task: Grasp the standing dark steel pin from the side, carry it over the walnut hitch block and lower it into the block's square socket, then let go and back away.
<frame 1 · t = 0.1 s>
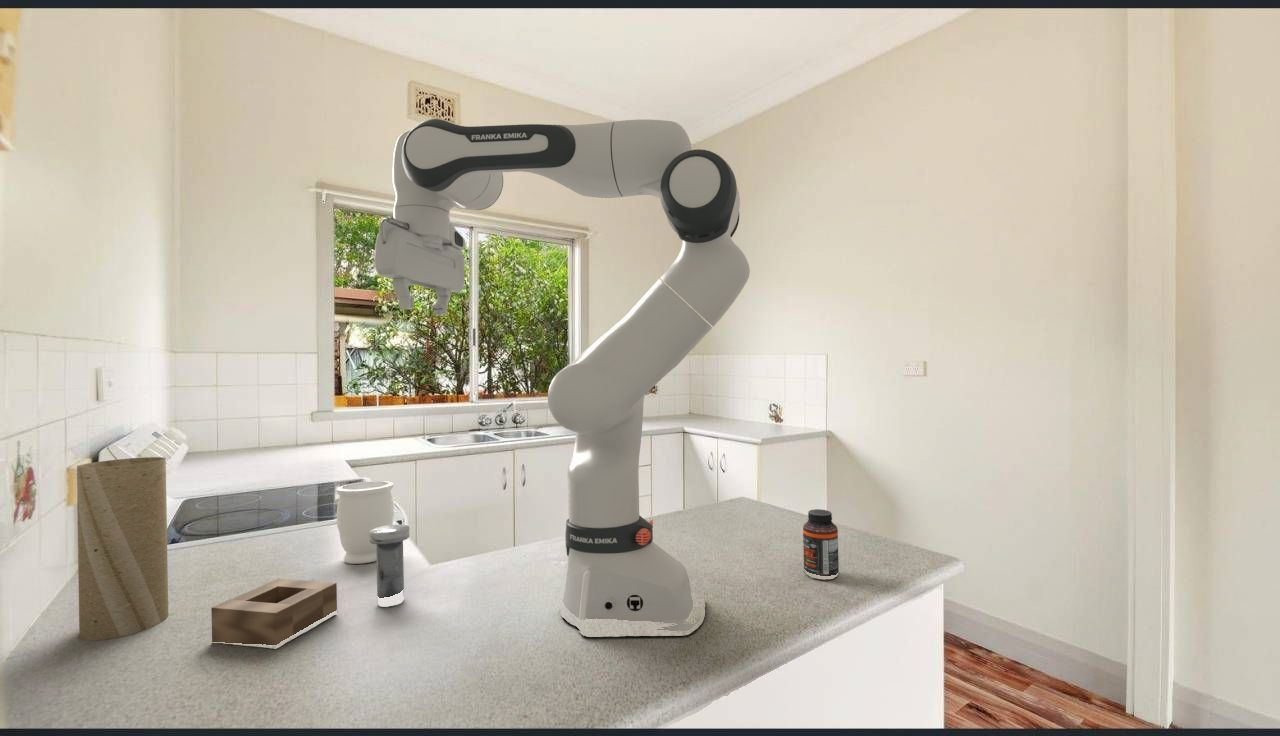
hand: (424, 312, 92), 48 cm above the worktop, tool pointing down, fingers open, 8 cm apart
supplement bottle: (821, 576, 97), on the worktop
jar: (366, 558, 113), on the worktop
tube: (125, 626, 84), on the worktop
pin: (391, 602, 90), on the worktop
hitch block: (277, 628, 82), on the worktop
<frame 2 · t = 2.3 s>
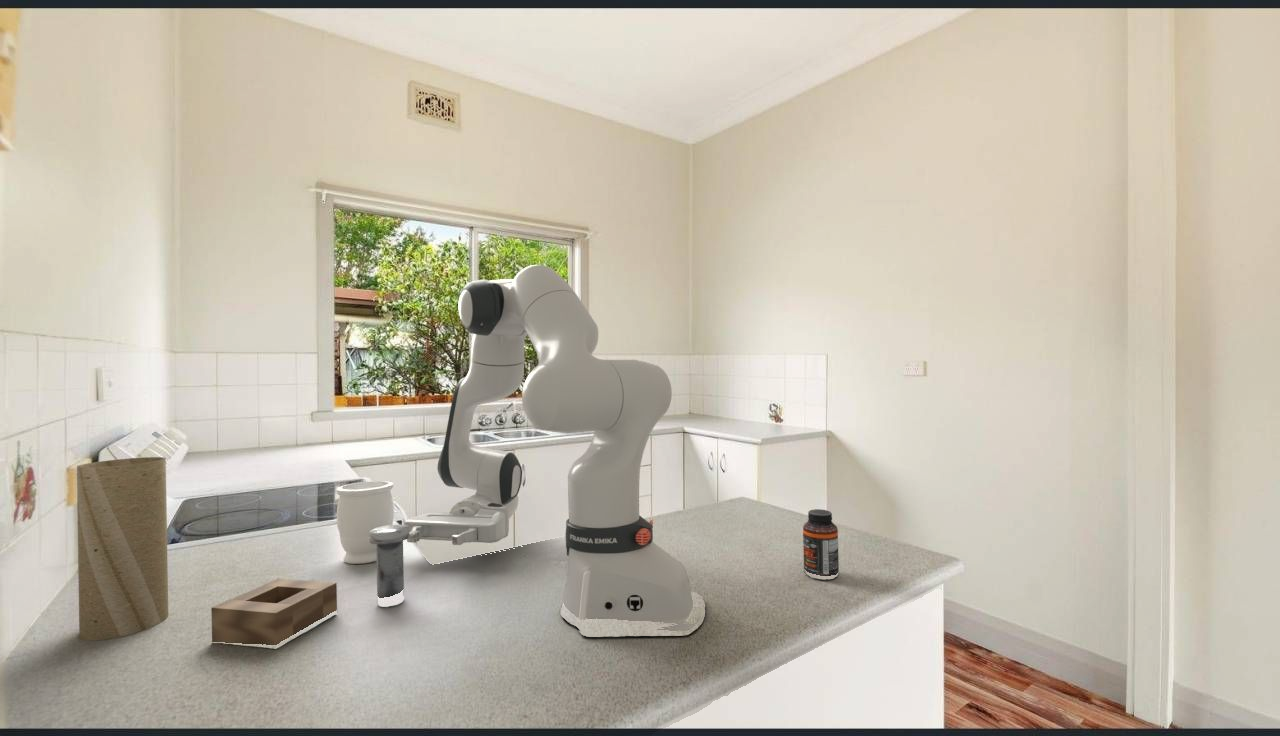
hand: (432, 539, 102), 7 cm above the worktop, tool horizontal, fingers open, 8 cm apart
nothing on the worktop moved.
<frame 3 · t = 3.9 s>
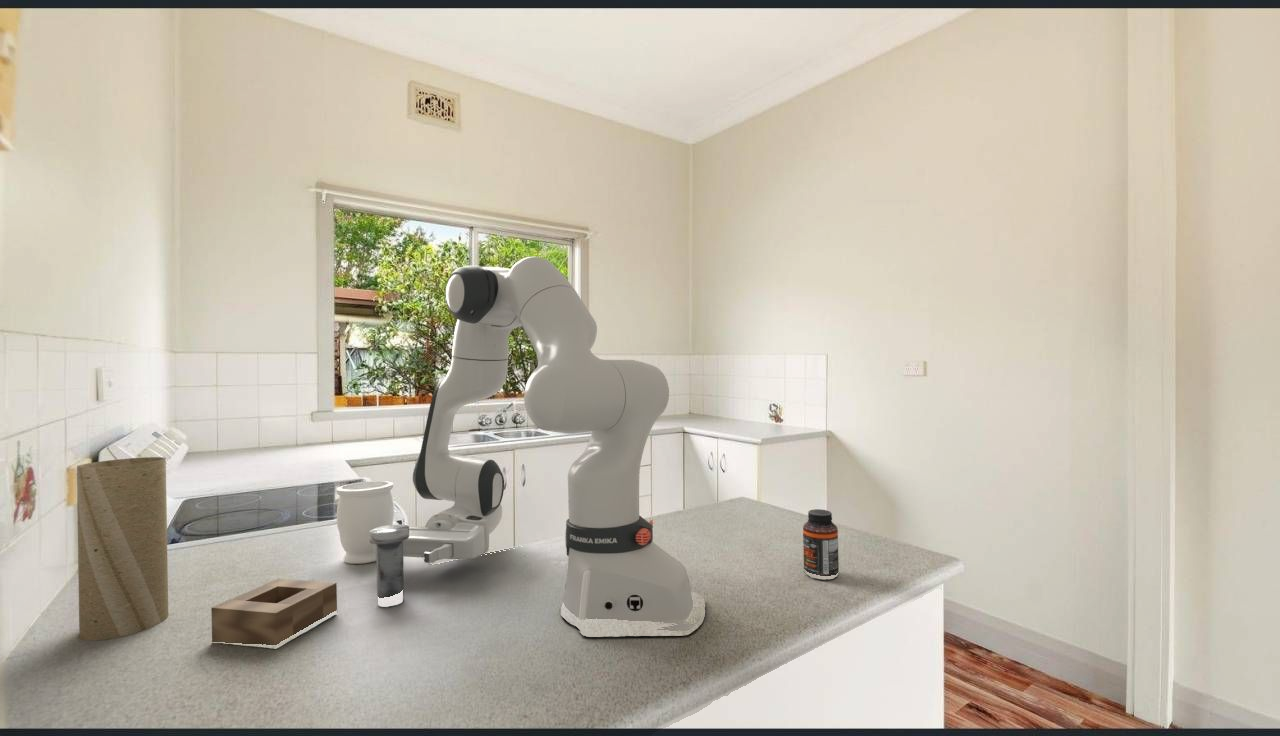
hand: (403, 556, 93), 6 cm above the worktop, tool horizontal, fingers open, 8 cm apart
nothing on the worktop moved.
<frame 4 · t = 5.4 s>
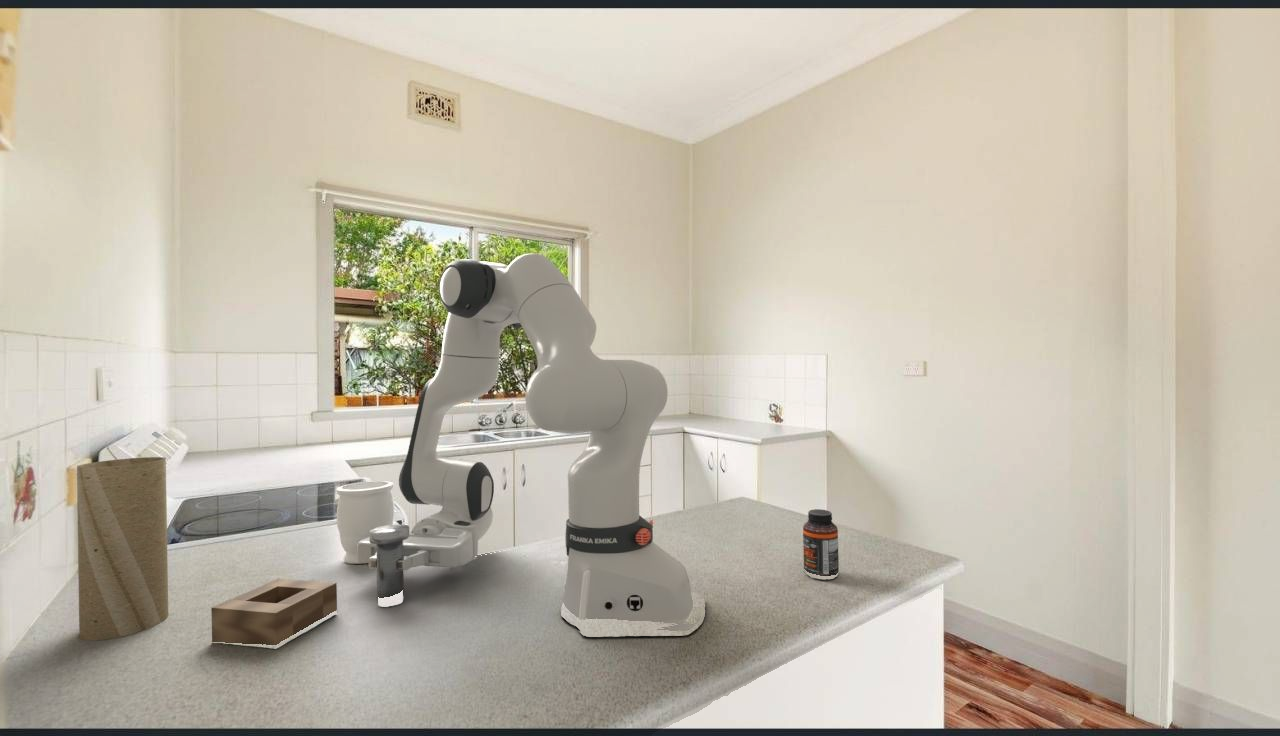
hand: (386, 564, 89), 7 cm above the worktop, tool horizontal, fingers closed on pin, 4 cm apart
pin: (390, 602, 90), on the worktop, touching gripper
everything else where it was.
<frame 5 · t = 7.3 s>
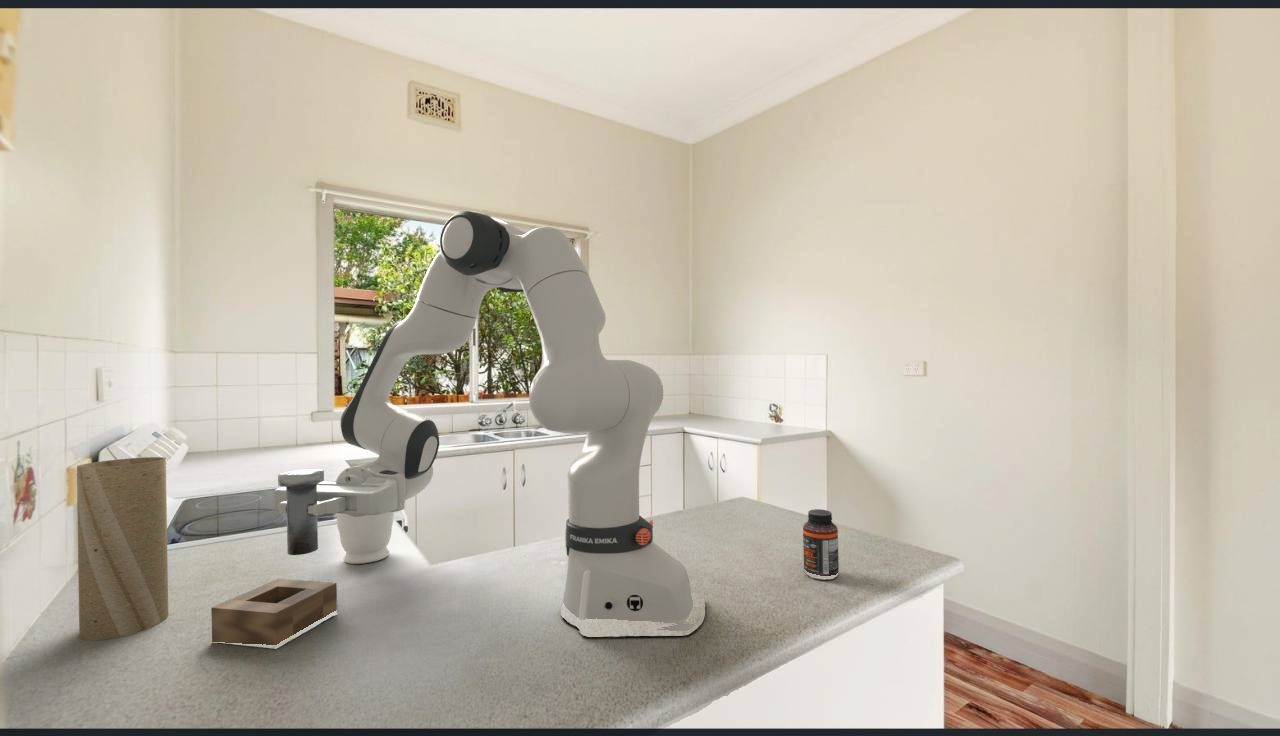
hand: (296, 509, 83), 17 cm above the worktop, tool horizontal, fingers closed on pin, 4 cm apart
pin: (302, 550, 84), point 11 cm above the worktop, touching gripper
everything else where it was.
when the fingers open (9 cm above the worktop, at t = 9.2 s): pin stays where it is, resting in hitch block.
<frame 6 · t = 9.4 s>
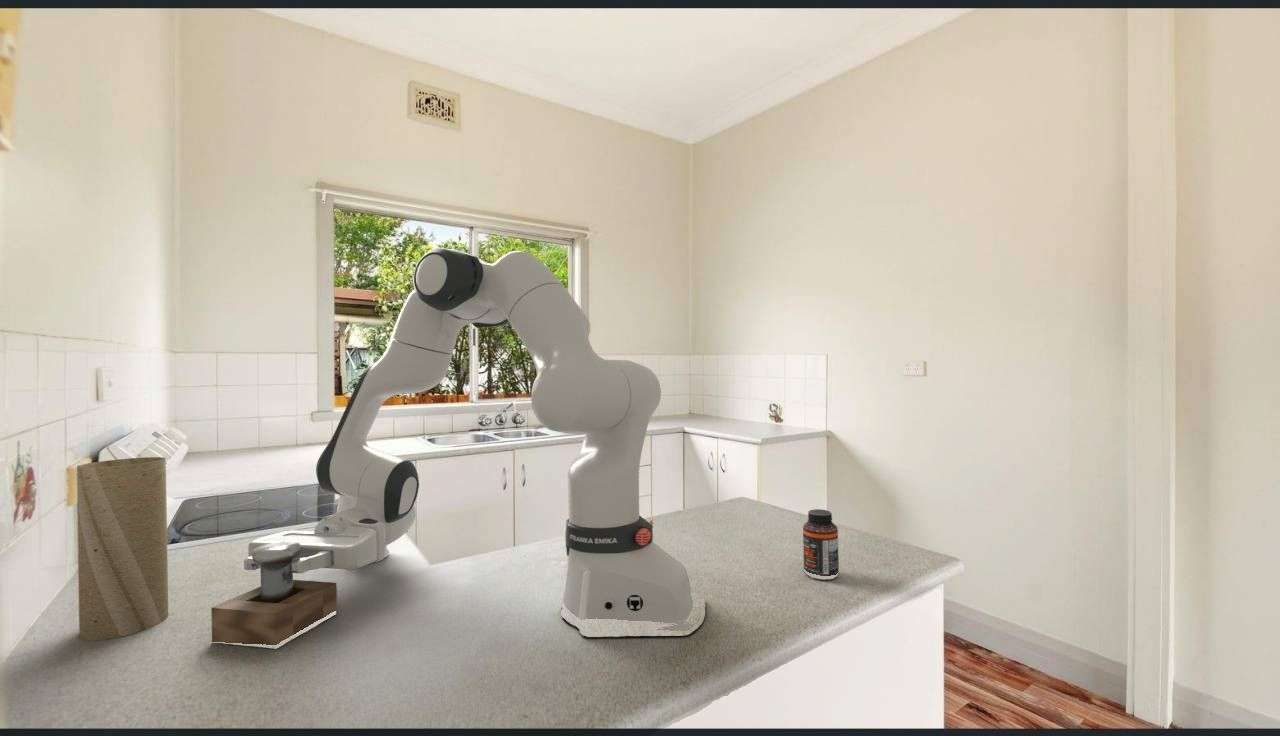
hand: (271, 566, 81), 9 cm above the worktop, tool horizontal, fingers open, 7 cm apart
pin: (277, 628, 82), resting in hitch block
everything else where it was.
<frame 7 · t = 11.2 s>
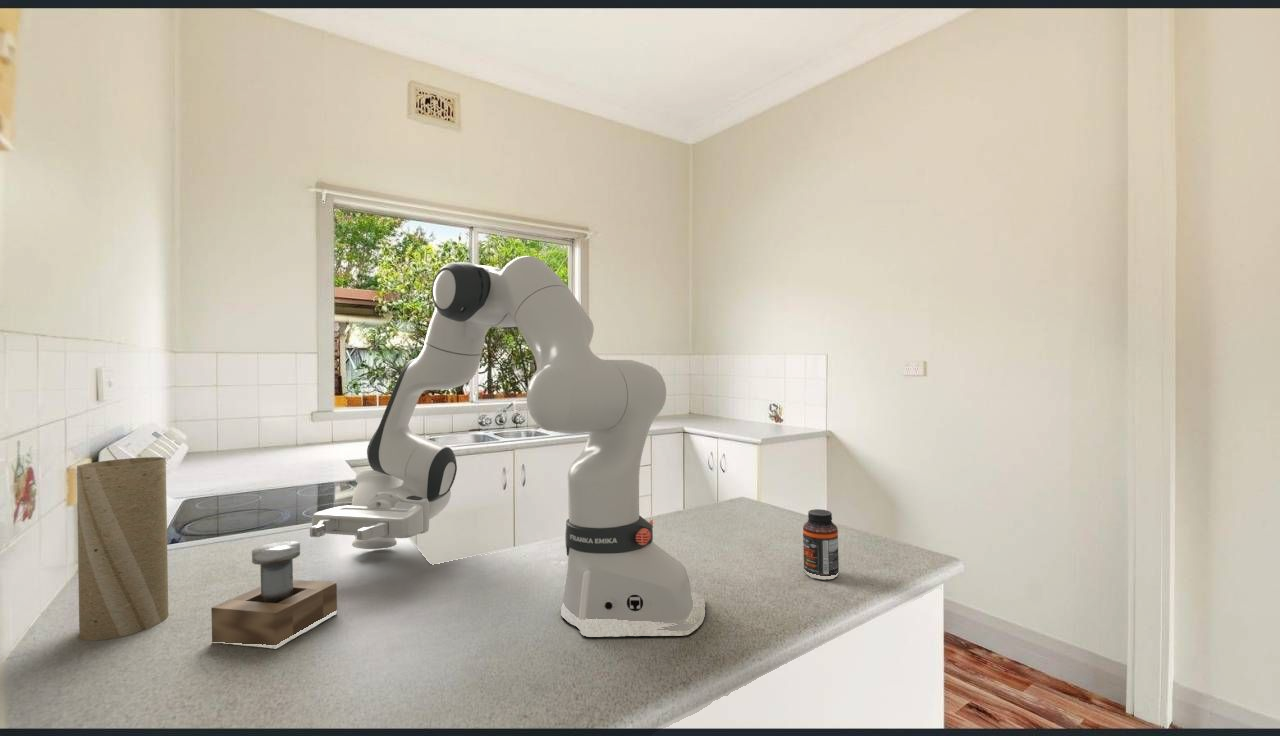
hand: (336, 534, 94), 10 cm above the worktop, tool horizontal, fingers open, 8 cm apart
jar: (374, 546, 115), point 2 cm above the worktop, touching arm
everything else where it was.
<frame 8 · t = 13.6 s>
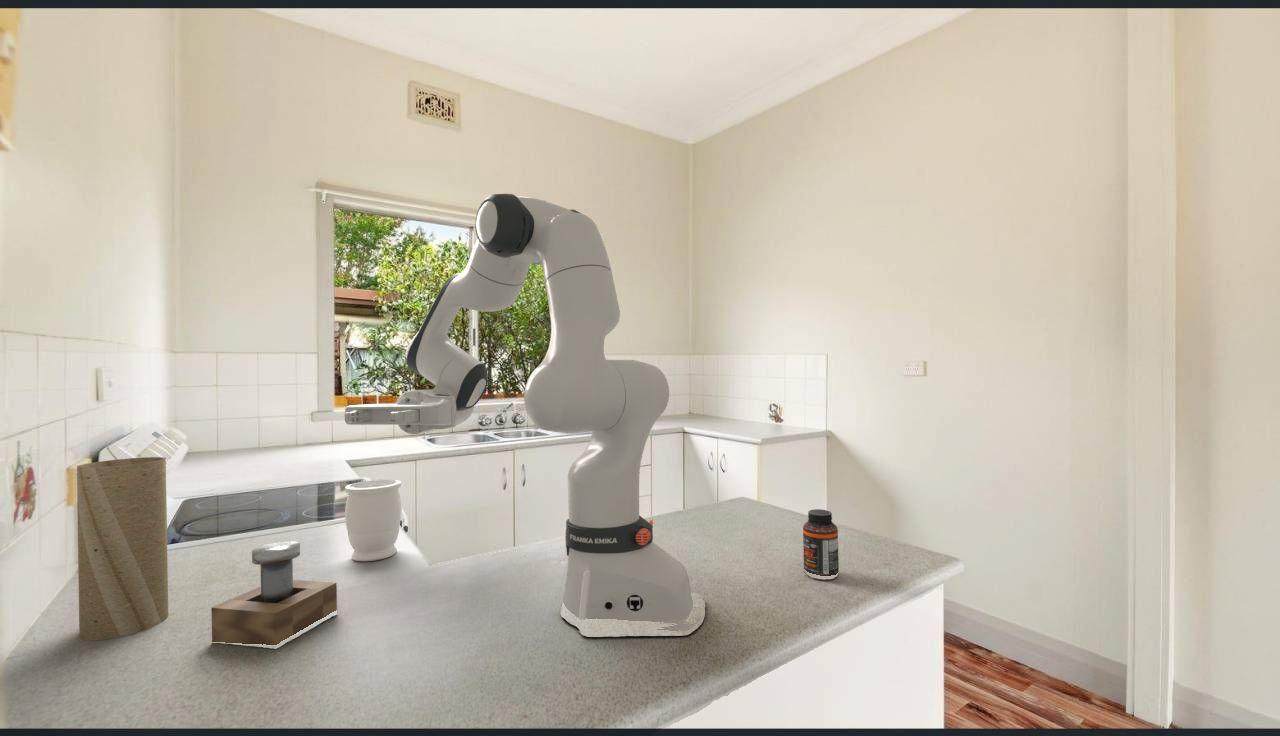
hand: (370, 417, 98), 30 cm above the worktop, tool horizontal, fingers open, 8 cm apart
jar: (374, 556, 114), on the worktop
everything else where it was.
at the end: pin 0.1 cm off-centre on the hitch block, point 0.0 cm above the hitch block's base; pin tilted 0°; the gripper is holding nothing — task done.
